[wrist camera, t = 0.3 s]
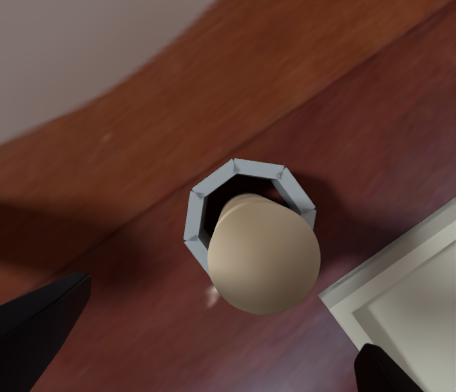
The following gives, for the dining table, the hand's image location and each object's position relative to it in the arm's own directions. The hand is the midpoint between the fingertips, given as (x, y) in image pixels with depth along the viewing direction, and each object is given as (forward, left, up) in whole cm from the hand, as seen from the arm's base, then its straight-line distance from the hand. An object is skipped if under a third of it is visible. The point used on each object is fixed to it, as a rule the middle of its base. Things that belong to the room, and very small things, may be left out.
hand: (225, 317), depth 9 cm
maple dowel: (+2, 0, -15) cm, 15 cm away
